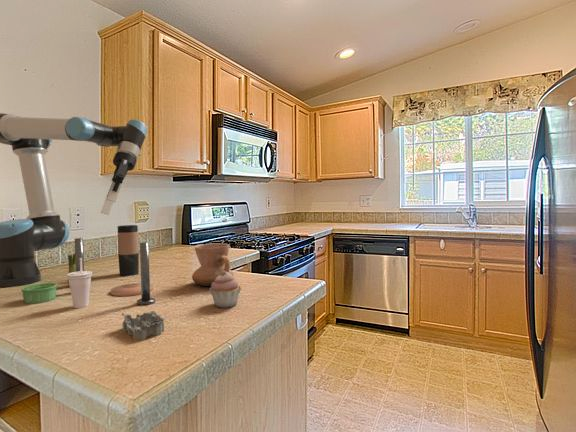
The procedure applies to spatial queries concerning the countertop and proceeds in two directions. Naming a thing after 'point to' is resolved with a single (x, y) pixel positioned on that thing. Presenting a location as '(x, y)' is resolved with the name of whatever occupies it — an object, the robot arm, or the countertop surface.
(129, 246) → the travel mug
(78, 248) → the rod gate
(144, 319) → the grey castle model
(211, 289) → the cupcake
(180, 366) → the countertop surface
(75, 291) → the smoothie
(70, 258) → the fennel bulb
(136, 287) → the coaster
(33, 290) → the ramekin
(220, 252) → the ceramic jug
